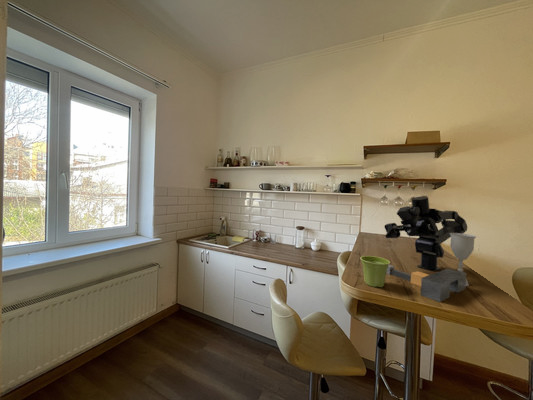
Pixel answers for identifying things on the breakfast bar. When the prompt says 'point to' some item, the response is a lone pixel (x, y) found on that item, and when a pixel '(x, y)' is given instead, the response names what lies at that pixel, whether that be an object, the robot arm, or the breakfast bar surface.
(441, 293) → the block
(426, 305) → the breakfast bar surface
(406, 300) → the breakfast bar surface
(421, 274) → the plug
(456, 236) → the chalice
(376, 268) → the plant pot
